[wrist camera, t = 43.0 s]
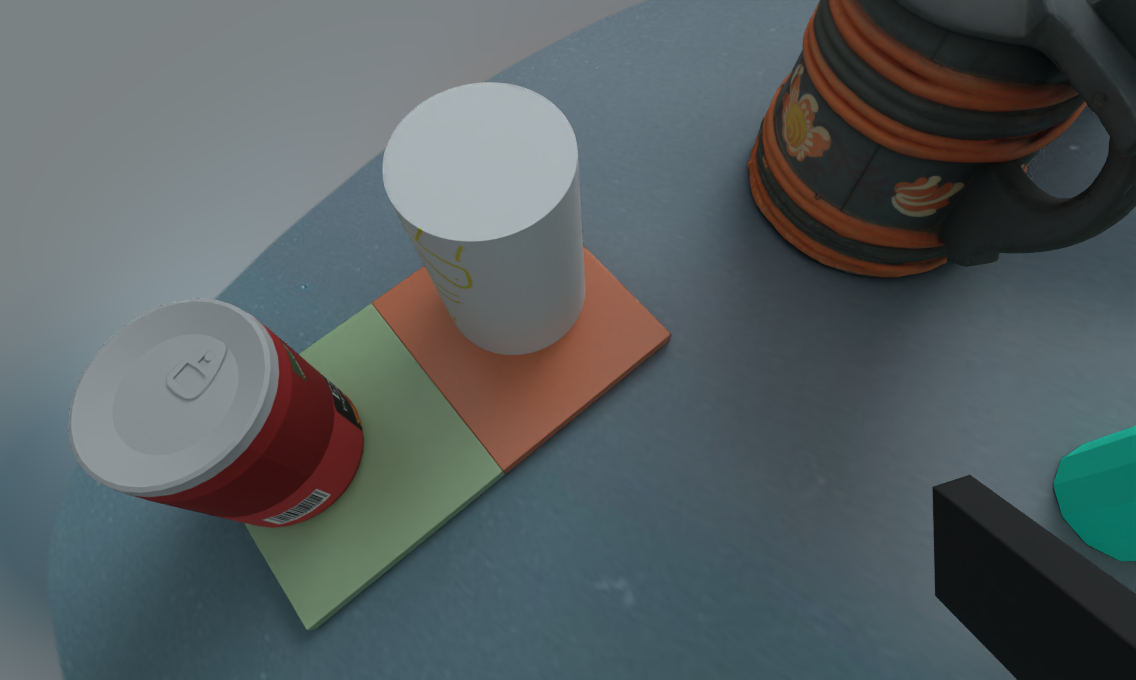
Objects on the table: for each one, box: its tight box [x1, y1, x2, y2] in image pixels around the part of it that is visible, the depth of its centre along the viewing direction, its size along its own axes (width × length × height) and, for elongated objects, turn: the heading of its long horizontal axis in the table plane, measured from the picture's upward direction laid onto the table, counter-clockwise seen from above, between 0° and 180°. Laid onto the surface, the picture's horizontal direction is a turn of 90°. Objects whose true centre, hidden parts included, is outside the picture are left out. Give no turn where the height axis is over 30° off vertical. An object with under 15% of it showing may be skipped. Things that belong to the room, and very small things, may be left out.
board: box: [244, 246, 671, 630], centre depth 36 cm, size 24×13×1 cm, turn 129°
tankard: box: [747, 0, 1136, 278], centre depth 30 cm, size 19×15×20 cm
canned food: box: [68, 298, 364, 528], centre depth 29 cm, size 8×8×11 cm
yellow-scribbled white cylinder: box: [383, 82, 585, 355], centre depth 32 cm, size 8×8×12 cm
